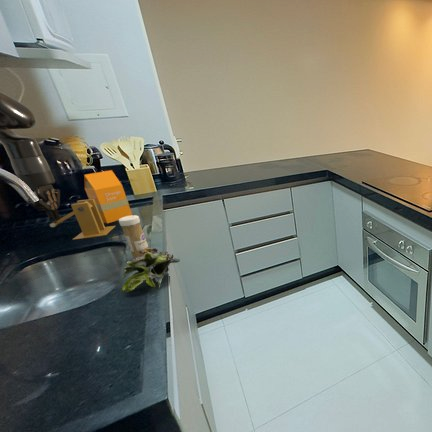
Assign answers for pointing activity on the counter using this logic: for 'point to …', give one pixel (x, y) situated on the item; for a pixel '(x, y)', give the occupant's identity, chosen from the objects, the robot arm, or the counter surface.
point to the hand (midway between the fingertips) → (55, 220)
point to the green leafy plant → (147, 268)
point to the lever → (64, 218)
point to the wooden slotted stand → (89, 219)
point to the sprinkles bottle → (134, 235)
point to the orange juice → (107, 195)
